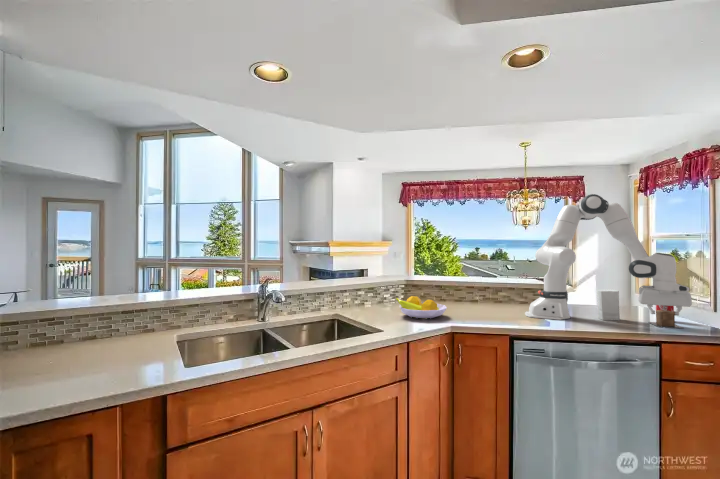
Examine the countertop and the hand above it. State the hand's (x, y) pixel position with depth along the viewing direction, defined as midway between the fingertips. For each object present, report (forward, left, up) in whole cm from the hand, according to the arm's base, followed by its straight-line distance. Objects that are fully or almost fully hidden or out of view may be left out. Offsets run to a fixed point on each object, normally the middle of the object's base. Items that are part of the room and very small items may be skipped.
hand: (664, 314), depth 172 cm
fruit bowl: (-117, -8, -6) cm, 118 cm away
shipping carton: (+1, +1, -5) cm, 5 cm away
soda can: (+6, +13, -6) cm, 15 cm away
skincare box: (-20, +10, -6) cm, 23 cm away
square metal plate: (+1, +1, -5) cm, 5 cm away
